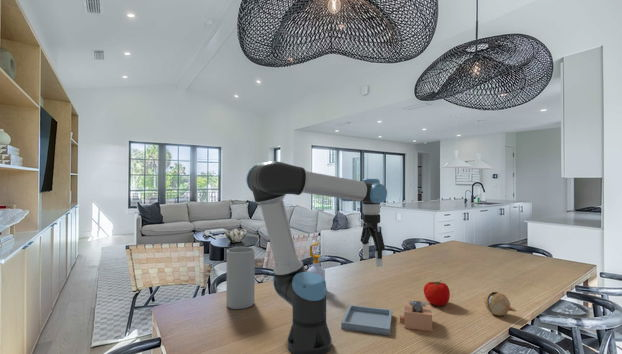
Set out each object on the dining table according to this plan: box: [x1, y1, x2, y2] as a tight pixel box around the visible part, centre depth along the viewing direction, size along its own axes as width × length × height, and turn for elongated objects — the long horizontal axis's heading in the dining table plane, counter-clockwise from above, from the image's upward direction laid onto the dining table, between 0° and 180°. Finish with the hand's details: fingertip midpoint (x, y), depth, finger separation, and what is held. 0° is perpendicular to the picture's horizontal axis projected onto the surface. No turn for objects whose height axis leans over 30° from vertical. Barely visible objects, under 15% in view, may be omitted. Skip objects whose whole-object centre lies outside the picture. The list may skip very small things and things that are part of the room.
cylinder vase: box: [225, 246, 255, 310], centre depth 143 cm, size 12×12×25 cm
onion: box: [483, 291, 517, 317], centre depth 131 cm, size 9×9×15 cm
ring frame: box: [399, 301, 433, 332], centre depth 123 cm, size 10×12×6 cm
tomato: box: [423, 279, 451, 307], centre depth 143 cm, size 11×13×10 cm
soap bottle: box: [307, 242, 326, 280], centre depth 162 cm, size 9×9×25 cm
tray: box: [340, 304, 393, 336], centre depth 125 cm, size 18×18×2 cm
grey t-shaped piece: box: [409, 300, 427, 313], centre depth 123 cm, size 3×6×8 cm, turn 73°
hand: (372, 262), depth 137 cm, fingers open, 13 cm apart
